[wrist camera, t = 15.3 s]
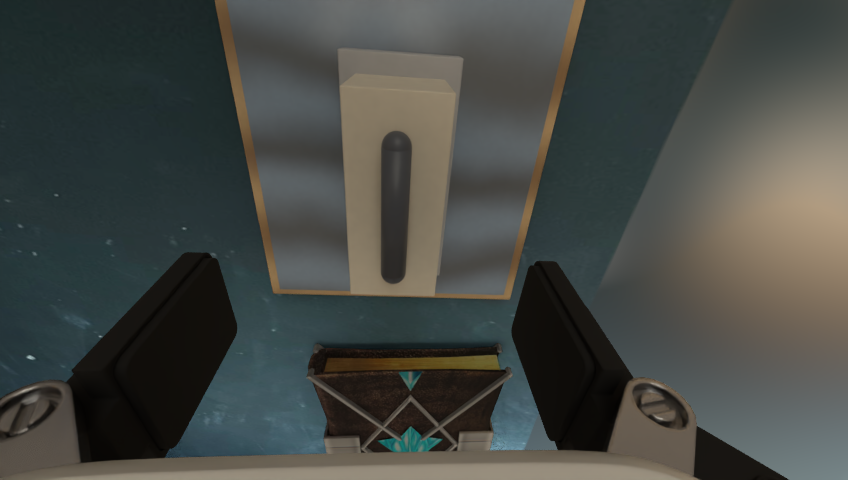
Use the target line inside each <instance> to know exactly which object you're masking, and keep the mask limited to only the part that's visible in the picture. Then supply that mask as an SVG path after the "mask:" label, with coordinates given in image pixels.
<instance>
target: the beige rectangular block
mask: <svg viewBox="0 0 848 480" xmlns="http://www.w3.org/2000/svg"><path fill="white" fill-rule="evenodd" d="M337 54H338V73H339V91H340V110H341V129H342V147H343V166H344V185H345V204H346V222H347V241H348V260H349V275H350V293H351V294H369V295H408V296H434V295H435V287H436V278H437V276H438V275H439V274H440V265H441V256H442V247H443V239H444V230H445V221H446V212H447V203H448V194H449V185H450V176H451V167H452V159H453V150H454V141H455V132H456V123H457V114H458V105H459V96H460V88H461V79H462V70H463V61H464V59H463V58H462V57H460V56H451V55H438V54H424V53H411V52H398V51H384V50H371V49H358V48H344V47H343V48H339V49H338V50H337Z"/></svg>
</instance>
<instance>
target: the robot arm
mask: <svg viewBox="0 0 848 480" xmlns="http://www.w3.org/2000/svg"><path fill="white" fill-rule="evenodd" d="M236 333H237V323H236V320H235V316H234V313H233V310H232V306H231V303H230V300H229V296H228V293H227V290H226V286H225V283H224V279H223V276H222V273H221V269H220V266H219V263H218V260H217V259H216V258H212V256H211V255H210V254H209V253H192V252H187V253H184V254H183V255H182V256H181V257H180V258H179V259H178V260H177V261H176V262H175V263H174V264H173V265H172V266H171V267H170V268H169V269H168V270H167V271H166V272H165V273H164V274H163V275H162V276H161V278H160V279H159V280H158V281H157V282H156V283H155V284H154V285H153V286H152V287H151V288H150V289H149V290H148V291H147V292H146V293H145V294H144V295H143V296H142V297H141V298H140V299H139V300H138V302H137V303H136V304H135V305H134V306H133V307H132V308H131V309H130V310H129V311H128V312H127V313H126V314H125V315H124V316H123V317H122V318H121V319H120V320H119V321H118V322H117V323H116V324H115V325H114V327H113V328H112V329H111V330H110V331H109V332H108V333H107V334H106V335H105V336H104V337H103V338H102V339H101V340H100V341H99V342H98V343H97V344H96V345H95V346H94V347H93V348H92V349H91V351H90V352H89V353H88V354H87V355H86V356H85V357H84V358H83V359H82V360H81V361H80V362H79V363H78V364H77V365H76V366H75V367H74V368H73V369H72V372H73V373H74V374H73V376H72V377H71V378H70V379H69V380H68V381H67V382H64V381H62V380H46V381H40V382H36V383H33V384H30V385H27V386H23V387H21V388H19V389H17V390H15V391H13V392H11V393H8V394H7V395H5V396H3V397H2V398H0V480H788V479H787V478H785V477H784V476H782V475H780V474H778V473H776V472H775V471H773V470H771V469H770V468H768V467H766V466H765V465H763V464H761V463H760V462H758V461H756V460H754V459H753V458H751V457H749V456H748V455H745V454H744V453H742V452H741V451H739V450H737V449H735V448H734V447H732V446H730V445H729V444H727V443H725V442H723V441H722V440H720V439H718V438H717V437H715V436H713V435H712V434H710V433H708V432H706V431H705V430H703V429H701V428H699V427H698V426H697V423H696V417H695V414H694V412H693V410H692V408H691V406H690V405H689V404H688V403H687V402H686V400H685V399H684V398H683V397H682V396H681V395H679V394H678V393H677V392H676V391H675V390H673V389H672V388H670V387H669V386H667V385H665V384H664V383H661V382H659V381H656V380H654V379H650V378H644V377H640V378H633V376H632V375H631V373H630V372H629V370H628V369H627V367H626V366H625V364H624V363H623V361H622V360H621V358H620V357H619V355H618V354H617V352H616V350H615V349H614V348H613V346H612V344H611V343H610V341H609V340H608V338H607V337H606V335H605V334H604V332H603V331H602V329H601V328H600V326H599V325H598V323H597V322H596V320H595V319H594V317H593V316H592V314H591V313H590V311H589V310H588V308H587V307H586V306H585V305H584V303H583V302H582V300H581V298H580V297H579V295H578V294H577V292H576V291H575V289H574V288H573V286H572V285H571V283H570V282H569V280H568V279H567V277H566V276H565V274H564V273H563V271H562V270H561V268H560V267H559V265H558V264H557V263H556V262H554V261H537V262H535V264H534V266H530V267H529V268H528V272H527V275H526V279H525V282H524V286H523V289H522V293H521V297H520V300H519V304H518V307H517V311H516V314H515V318H514V321H513V325H512V338H513V341H514V344H515V346H516V349H517V352H518V355H519V358H520V361H521V363H522V366H523V369H524V372H525V375H526V377H527V380H528V383H529V386H530V389H531V391H532V394H533V397H534V400H535V403H536V405H537V408H538V411H539V414H540V417H541V420H542V422H543V425H544V428H545V431H546V434H547V436H548V438H549V439H550V440H551V441H555V443H556V446H557V449H558V450H495V451H434V452H382V453H336V454H292V455H255V456H218V457H181V458H165V456H166V454H167V452H168V451H169V449H172V448H174V447H175V446H176V445H177V444H178V442H179V441H180V439H181V437H182V435H183V433H184V432H185V430H186V428H187V426H188V424H189V422H190V420H191V418H192V417H193V415H194V413H195V411H196V409H197V407H198V405H199V404H200V402H201V400H202V398H203V396H204V394H205V392H206V390H207V389H208V387H209V385H210V383H211V381H212V379H213V377H214V376H215V374H216V372H217V370H218V368H219V366H220V364H221V362H222V361H223V359H224V357H225V355H226V353H227V351H228V349H229V347H230V346H231V344H232V342H233V340H234V338H235V336H236Z"/></svg>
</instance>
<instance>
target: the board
mask: <svg viewBox="0 0 848 480" xmlns="http://www.w3.org/2000/svg"><path fill="white" fill-rule="evenodd" d="M584 4H585V0H215V5H216V10H217V15H218V20H219V25H220V30H221V35H222V40H223V45H224V50H225V55H226V60H227V65H228V70H229V75H230V80H231V85H232V90H233V95H234V100H235V105H236V110H237V115H238V120H239V125H240V130H241V135H242V140H243V145H244V150H245V155H246V160H247V165H248V170H249V174H250V179H251V184H252V189H253V194H254V199H255V204H256V209H257V214H258V219H259V224H260V229H261V234H262V239H263V244H264V249H265V254H266V259H267V264H268V269H269V274H270V279H271V284H272V289H273V293H274V294H313V295H353V296H392V297H432V298H472V299H510V296H511V292H512V289H513V285H514V281H515V277H516V273H517V269H518V265H519V261H520V257H521V253H522V249H523V245H524V241H525V237H526V233H527V229H528V225H529V221H530V217H531V214H532V210H533V206H534V202H535V198H536V194H537V190H538V186H539V182H540V178H541V174H542V170H543V166H544V162H545V158H546V154H547V150H548V146H549V142H550V139H551V135H552V131H553V127H554V123H555V119H556V115H557V111H558V107H559V103H560V99H561V95H562V91H563V87H564V83H565V79H566V75H567V71H568V67H569V64H570V60H571V56H572V52H573V48H574V44H575V40H576V36H577V32H578V28H579V24H580V20H581V16H582V12H583V8H584ZM343 47H344V48H358V49H371V50H384V51H398V52H411V53H424V54H438V55H451V56H460V57H462V58H463V59H464V61H463V70H462V79H461V88H460V96H459V105H458V114H457V123H456V132H455V141H454V150H453V159H452V167H451V176H450V185H449V194H448V203H447V212H446V221H445V230H444V239H443V247H442V256H441V265H440V274H439V275H438V276H437V278H436V287H435V295H434V296H408V295H369V294H351V293H350V275H349V260H348V241H347V222H346V204H345V185H344V166H343V147H342V129H341V110H340V91H339V73H338V54H337V50H338V49H339V48H343Z"/></svg>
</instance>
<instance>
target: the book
mask: <svg viewBox="0 0 848 480" xmlns="http://www.w3.org/2000/svg"><path fill="white" fill-rule="evenodd" d="M501 352H503V351H502V347H501V345H500V344H499V343H497V344H496V345H495V346H494V347H483V348H460V349H401V350H370V349H339V348H324V347H322V346H321V345H319V344H318V343H317V344H316V345H315V346H314V349H313V353H314V354H313V355H312V356H311V358H310V362H309V365H308V374H307V378H308V379H309V380H310V381H312V382H313V385H314V387H315V390H316V392H317V395H318V397H319V400H320V402H321V405H322V408H323V410H324V413H325V415H326V418H327V425H326V430H325V435H324V443H325V447H326V451H327V454H336V453H382V452H434V451H490V447H491V442H492V438H493V428H492V423H491V419H490V418H491V415H492V412H493V410H494V407H495V404H496V402H497V399H498V397H499V394H500V391H501V389H502V386H503V383H504V382H505V381H507V380H508V379H509V378H511V377H512V376H513V375H512V372H511V368H509V367H506V368H505V370H501V369H500V365H499V362H498V358H497V357H498V355H499V353H501Z"/></svg>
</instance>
